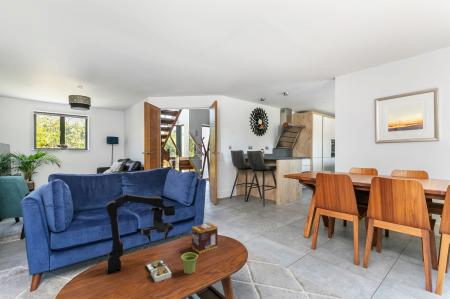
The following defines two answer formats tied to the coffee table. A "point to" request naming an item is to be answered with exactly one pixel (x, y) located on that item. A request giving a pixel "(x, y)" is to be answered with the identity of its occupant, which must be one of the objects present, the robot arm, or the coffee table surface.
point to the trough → (161, 277)
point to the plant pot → (189, 262)
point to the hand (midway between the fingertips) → (157, 242)
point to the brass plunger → (155, 263)
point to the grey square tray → (150, 267)
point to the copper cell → (160, 268)
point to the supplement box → (204, 237)
